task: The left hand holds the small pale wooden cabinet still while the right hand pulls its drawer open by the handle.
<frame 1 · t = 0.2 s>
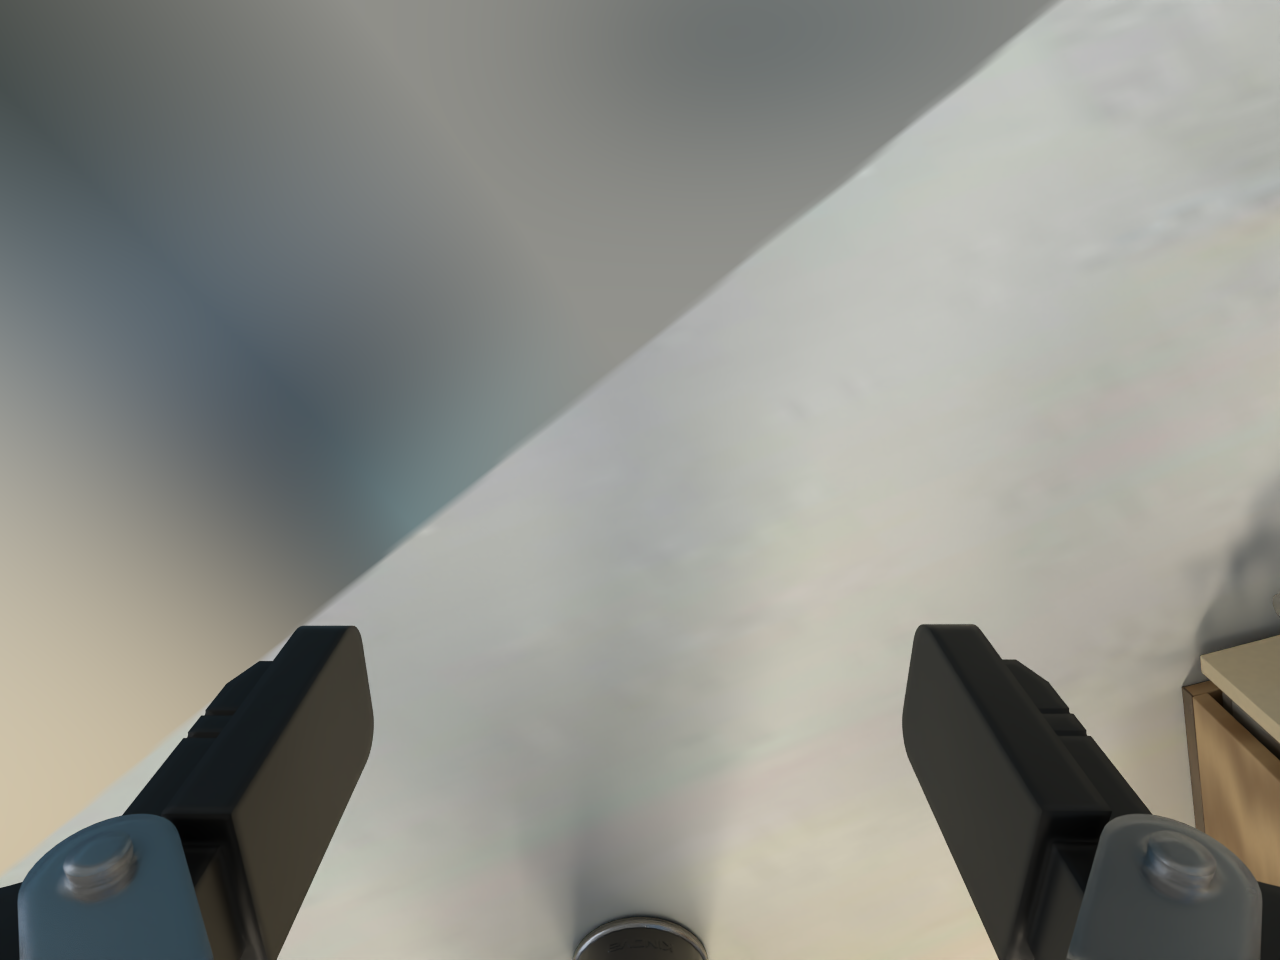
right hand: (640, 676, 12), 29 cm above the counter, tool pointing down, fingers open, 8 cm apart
cabinet: (1279, 792, 50), on the counter
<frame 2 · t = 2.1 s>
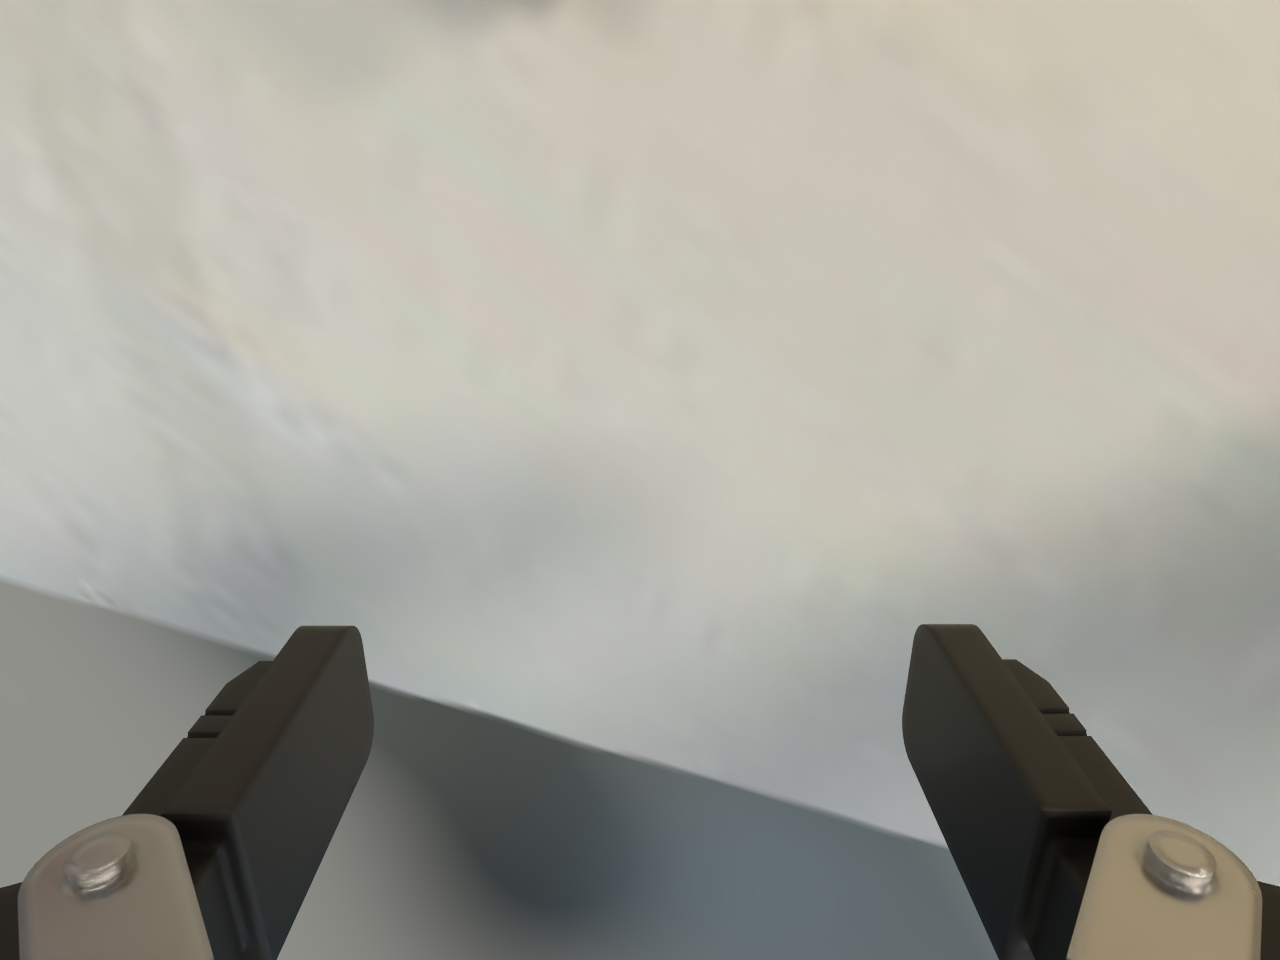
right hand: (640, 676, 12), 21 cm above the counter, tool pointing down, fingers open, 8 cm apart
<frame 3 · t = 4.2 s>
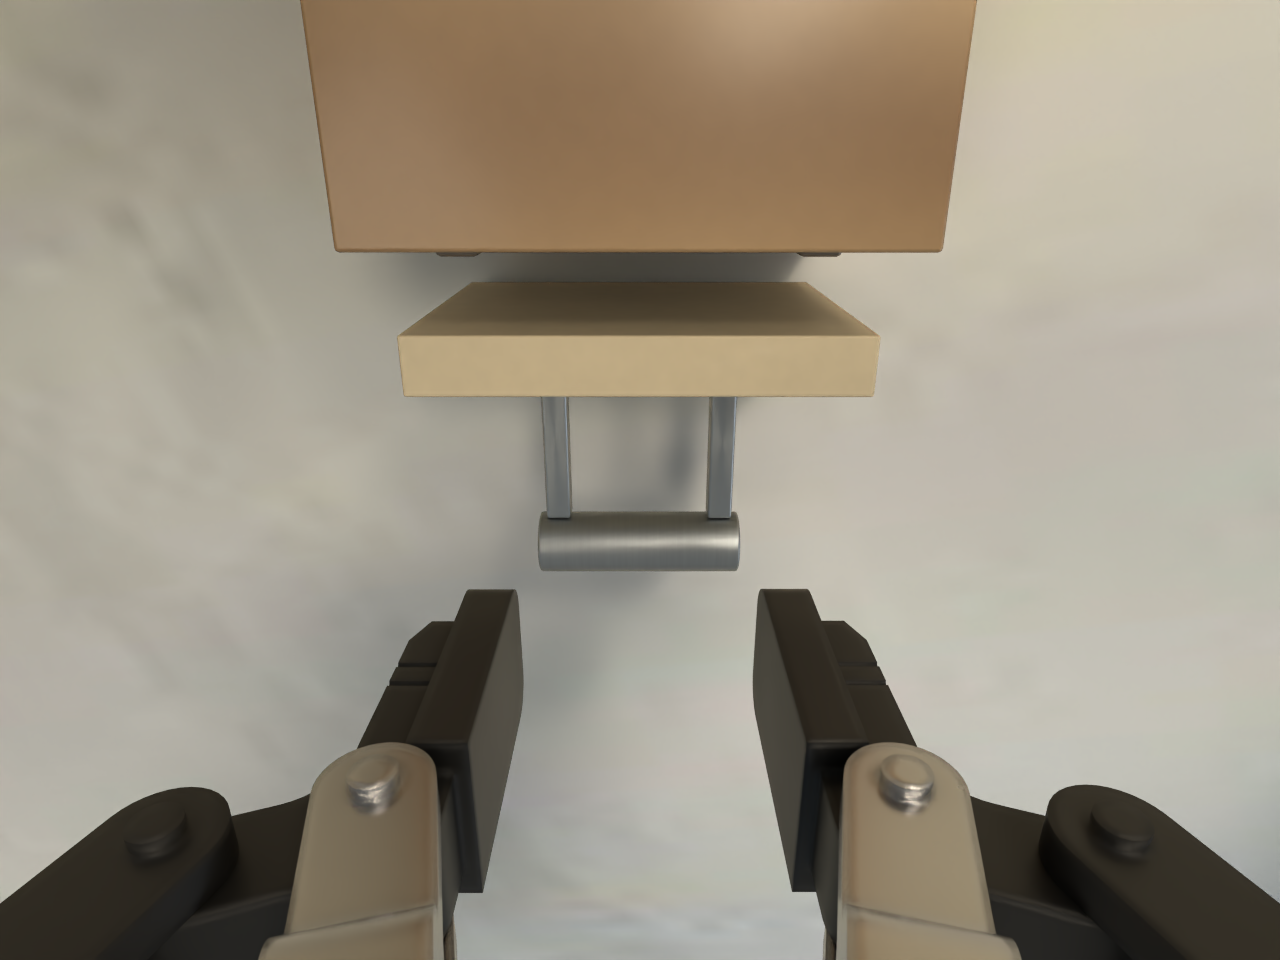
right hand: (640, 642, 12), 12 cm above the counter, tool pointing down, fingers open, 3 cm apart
drawer: (638, 29, 16), point 4 cm above the counter, slide at 1.6 cm
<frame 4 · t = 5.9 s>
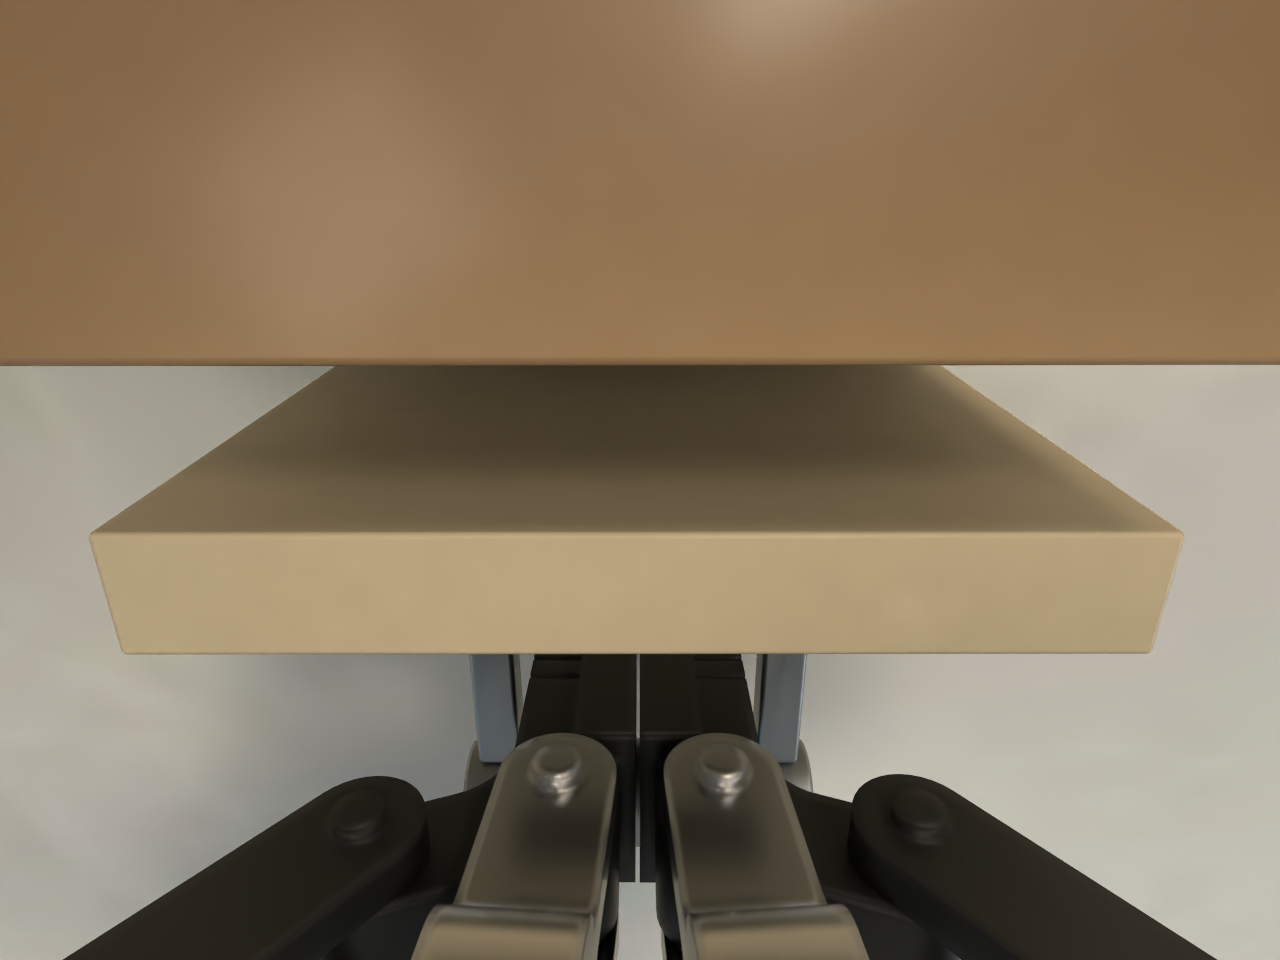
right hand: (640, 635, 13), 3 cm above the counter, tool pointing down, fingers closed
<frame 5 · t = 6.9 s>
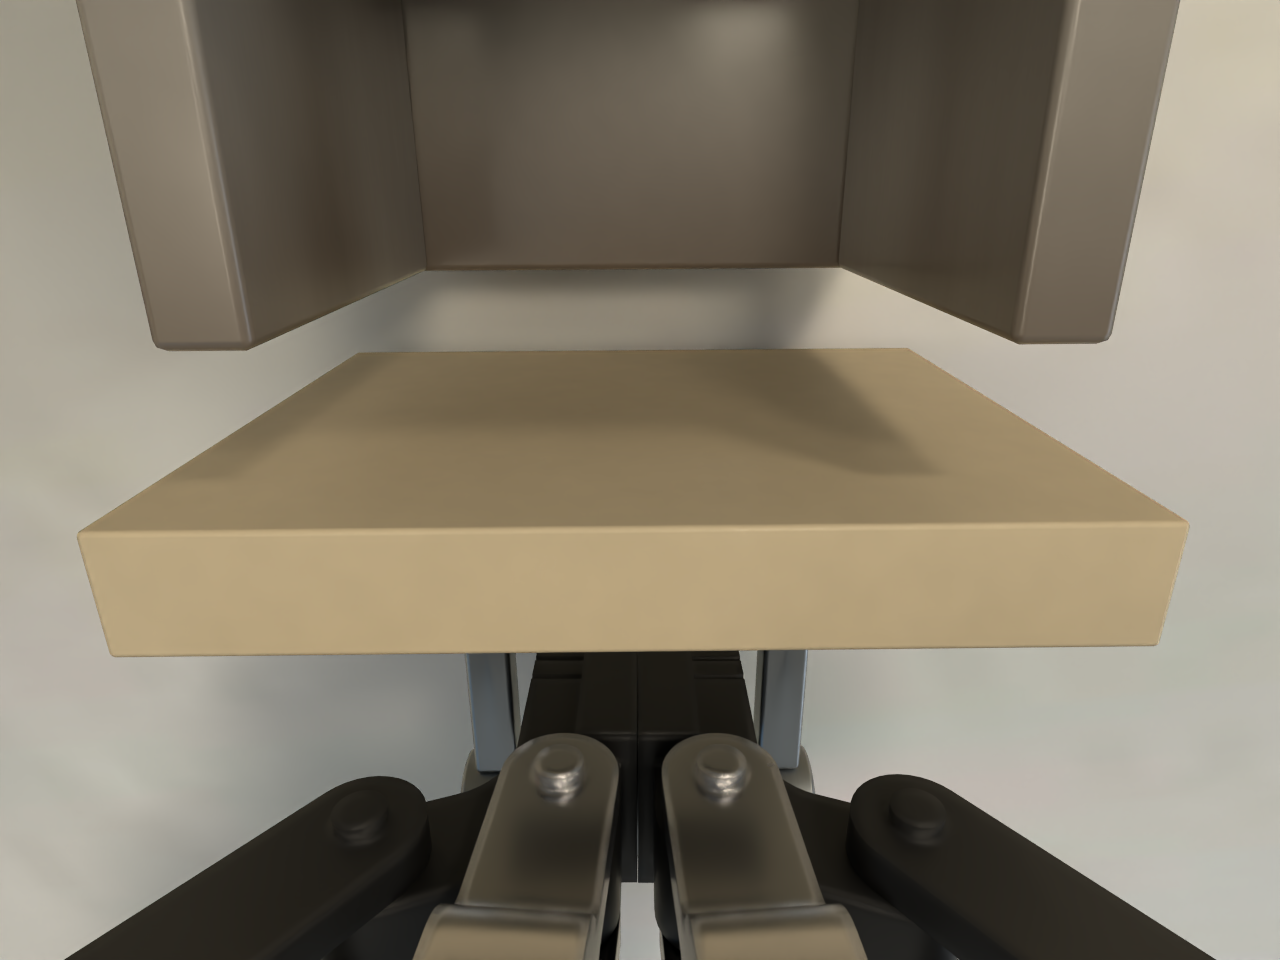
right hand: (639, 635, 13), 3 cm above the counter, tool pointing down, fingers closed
when the left hand's fingers open (4 cm above the counter, at t = 8.8 s): cabinet stays where it is, on the counter.
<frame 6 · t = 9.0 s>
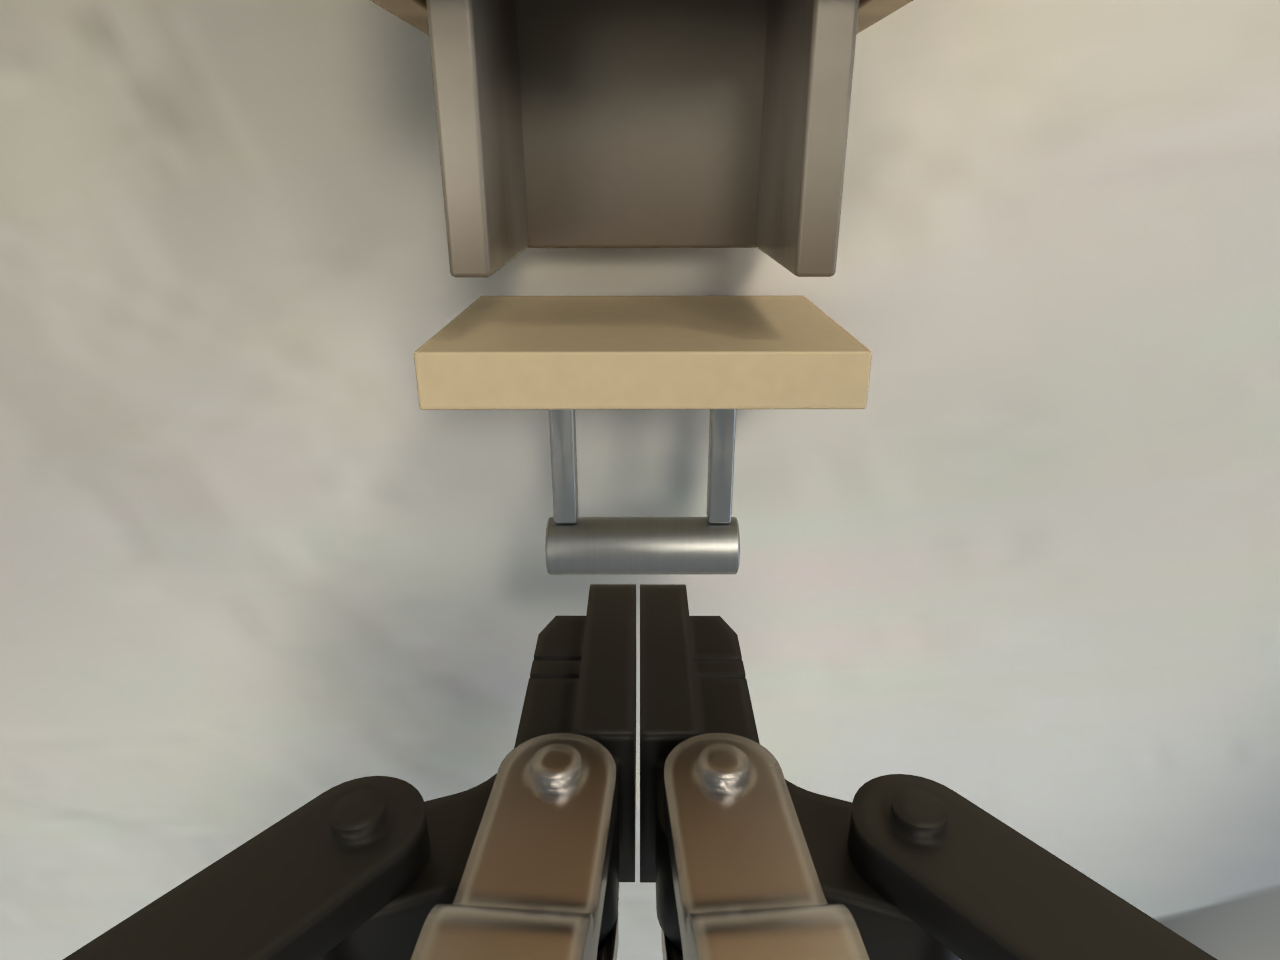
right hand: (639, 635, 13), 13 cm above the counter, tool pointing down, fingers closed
drawer: (642, 59, 17), point 5 cm above the counter, slide at 6.3 cm
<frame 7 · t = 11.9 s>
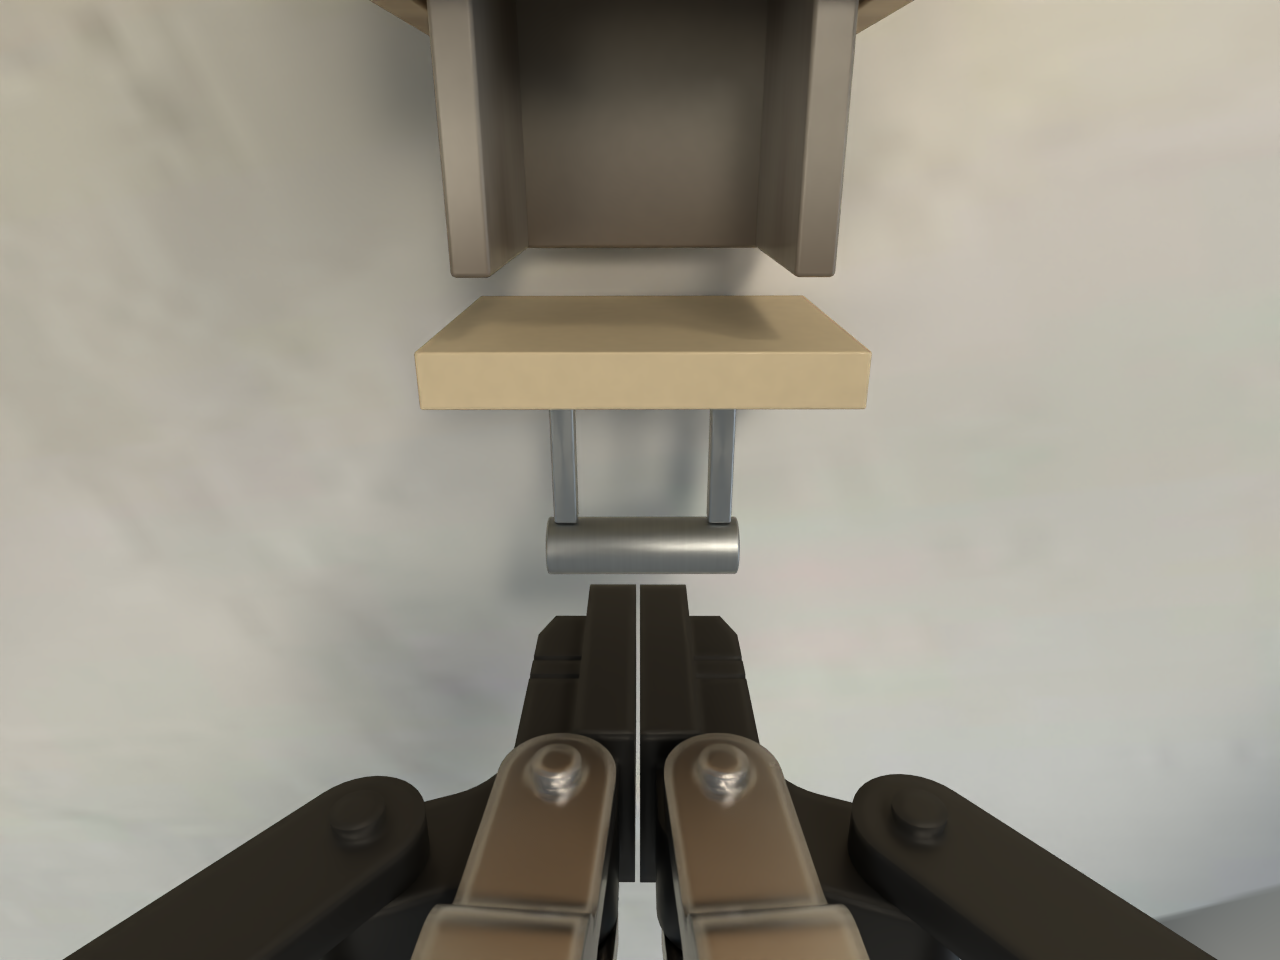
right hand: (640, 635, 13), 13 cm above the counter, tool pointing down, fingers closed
drawer: (642, 59, 17), point 4 cm above the counter, slide at 6.3 cm
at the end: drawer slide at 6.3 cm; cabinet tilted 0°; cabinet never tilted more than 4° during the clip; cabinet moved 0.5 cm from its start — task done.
